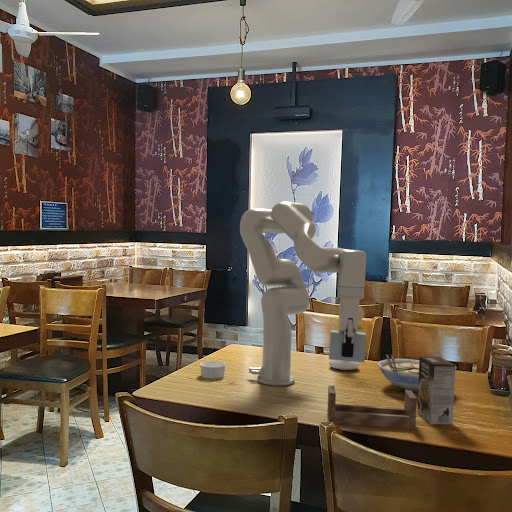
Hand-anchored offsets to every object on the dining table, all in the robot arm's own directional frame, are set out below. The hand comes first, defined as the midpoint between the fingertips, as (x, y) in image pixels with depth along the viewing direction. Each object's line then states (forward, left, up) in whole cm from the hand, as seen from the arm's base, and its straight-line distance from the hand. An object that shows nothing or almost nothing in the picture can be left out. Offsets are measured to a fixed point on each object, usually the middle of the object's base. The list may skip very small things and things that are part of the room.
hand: (346, 354), depth 147 cm
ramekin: (-43, +22, -15) cm, 51 cm away
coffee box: (+24, -8, -15) cm, 29 cm away
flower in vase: (+4, +43, -15) cm, 46 cm away
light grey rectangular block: (0, 0, -2) cm, 2 cm away
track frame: (+6, -14, -15) cm, 21 cm away
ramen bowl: (+24, +21, -15) cm, 35 cm away
